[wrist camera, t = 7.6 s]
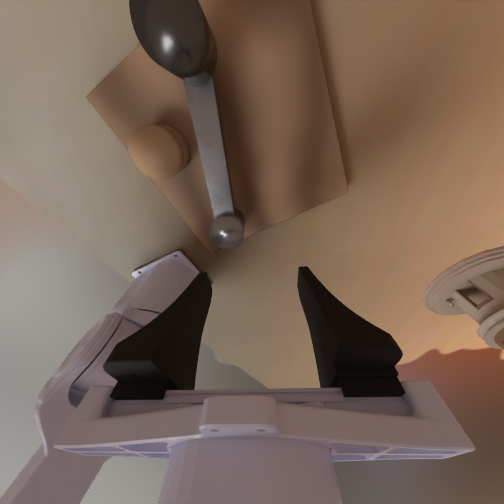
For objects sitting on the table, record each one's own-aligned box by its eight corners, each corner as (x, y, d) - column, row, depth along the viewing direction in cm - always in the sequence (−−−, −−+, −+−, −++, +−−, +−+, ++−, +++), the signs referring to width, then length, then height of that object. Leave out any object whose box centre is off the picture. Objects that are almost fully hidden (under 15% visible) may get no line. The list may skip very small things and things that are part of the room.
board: (211, 248, 25) (209, 253, 24) (95, 98, 16) (84, 96, 15) (343, 188, 20) (348, 192, 19) (286, -79, 11) (290, -100, 10)
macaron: (166, 179, 19) (153, 187, 16) (136, 139, 17) (116, 142, 14) (197, 160, 18) (188, 165, 15) (169, 114, 16) (153, 112, 13)
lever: (246, 234, 22) (244, 268, 16) (217, 236, 22) (206, 270, 17) (220, 24, 12) (196, -49, 7) (169, 32, 12) (110, -33, 7)
